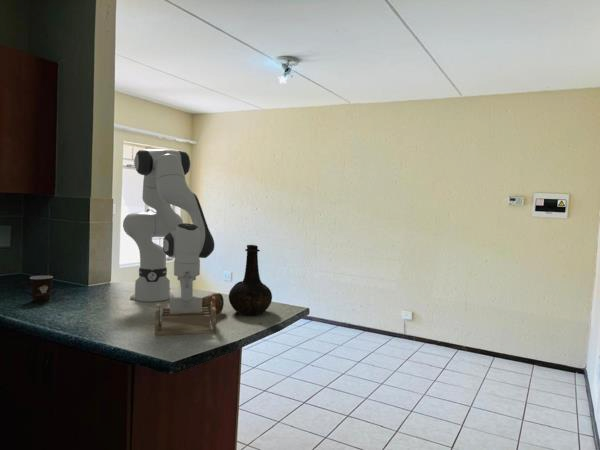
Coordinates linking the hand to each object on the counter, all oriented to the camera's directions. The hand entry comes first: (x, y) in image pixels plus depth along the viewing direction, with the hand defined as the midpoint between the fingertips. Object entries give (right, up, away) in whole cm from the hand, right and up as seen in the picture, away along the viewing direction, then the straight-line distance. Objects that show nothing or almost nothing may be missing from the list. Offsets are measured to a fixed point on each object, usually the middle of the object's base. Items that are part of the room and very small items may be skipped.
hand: (186, 308), depth 158 cm
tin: (+5, -7, +19) cm, 21 cm away
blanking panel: (0, -6, 0) cm, 6 cm away
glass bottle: (+20, -7, +26) cm, 34 cm away
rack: (0, -7, 0) cm, 7 cm away
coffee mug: (-72, -3, +34) cm, 80 cm away
